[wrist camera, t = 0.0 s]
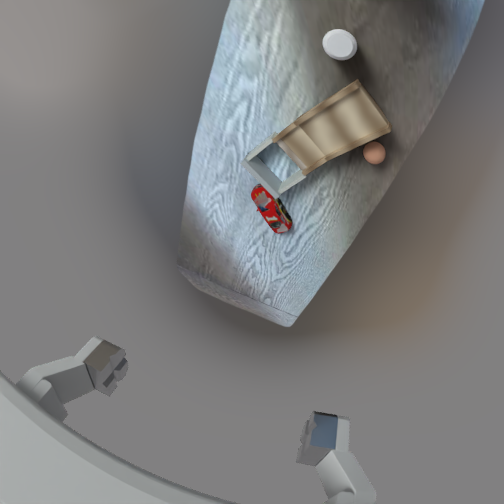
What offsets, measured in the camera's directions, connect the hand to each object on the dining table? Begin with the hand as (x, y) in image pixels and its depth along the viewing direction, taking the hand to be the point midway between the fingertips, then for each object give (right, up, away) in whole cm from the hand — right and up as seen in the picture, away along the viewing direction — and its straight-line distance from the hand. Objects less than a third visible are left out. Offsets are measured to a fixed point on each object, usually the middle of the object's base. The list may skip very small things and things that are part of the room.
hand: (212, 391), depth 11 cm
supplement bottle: (+17, +42, +29) cm, 53 cm away
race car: (+7, +17, +58) cm, 60 cm away
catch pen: (+7, +25, +49) cm, 55 cm away
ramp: (+16, +30, +40) cm, 52 cm away
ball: (+25, +24, +39) cm, 52 cm away
